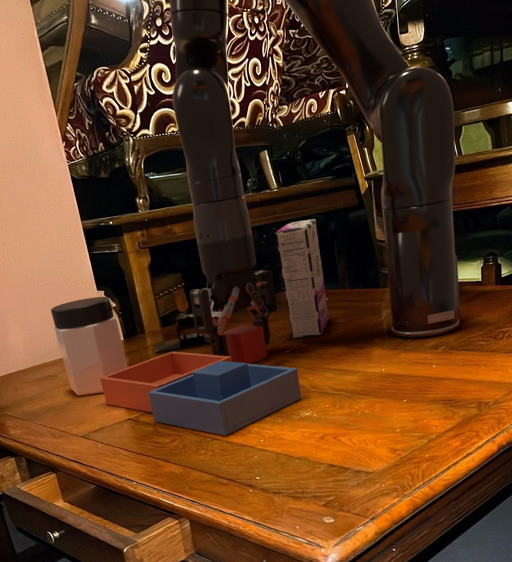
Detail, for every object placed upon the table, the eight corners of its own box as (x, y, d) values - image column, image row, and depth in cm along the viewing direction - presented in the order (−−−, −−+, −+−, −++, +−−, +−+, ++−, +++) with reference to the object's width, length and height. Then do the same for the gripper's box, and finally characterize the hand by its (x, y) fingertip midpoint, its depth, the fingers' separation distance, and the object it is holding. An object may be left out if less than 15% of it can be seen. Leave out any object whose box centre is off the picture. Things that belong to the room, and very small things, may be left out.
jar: (136, 384, 98) (117, 299, 93) (80, 399, 95) (57, 312, 90) (120, 373, 105) (101, 294, 101) (67, 387, 102) (45, 306, 98)
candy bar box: (300, 323, 118) (286, 223, 112) (329, 319, 117) (317, 218, 110) (290, 339, 108) (274, 230, 102) (322, 335, 107) (307, 225, 100)
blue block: (227, 396, 83) (220, 360, 81) (253, 400, 80) (247, 363, 78) (199, 409, 80) (191, 372, 78) (225, 413, 77) (218, 375, 75)
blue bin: (229, 388, 88) (224, 361, 87) (301, 398, 80) (297, 368, 78) (154, 421, 80) (147, 392, 79) (225, 436, 72) (219, 403, 71)
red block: (246, 355, 103) (241, 325, 101) (267, 356, 100) (262, 326, 98) (224, 363, 100) (218, 333, 99) (246, 365, 97) (240, 334, 96)
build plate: (155, 354, 114) (149, 326, 112) (158, 345, 121) (152, 318, 119) (229, 340, 114) (224, 312, 112) (228, 332, 121) (223, 305, 119)
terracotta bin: (177, 376, 98) (172, 351, 97) (236, 383, 90) (231, 356, 88) (106, 404, 91) (99, 377, 89) (163, 414, 82) (157, 386, 81)
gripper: (203, 243, 87) (225, 369, 93) (279, 225, 96) (295, 340, 102) (166, 246, 92) (189, 365, 98) (242, 228, 101) (259, 338, 107)
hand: (243, 352), depth 100 cm, fingers open, 8 cm apart
